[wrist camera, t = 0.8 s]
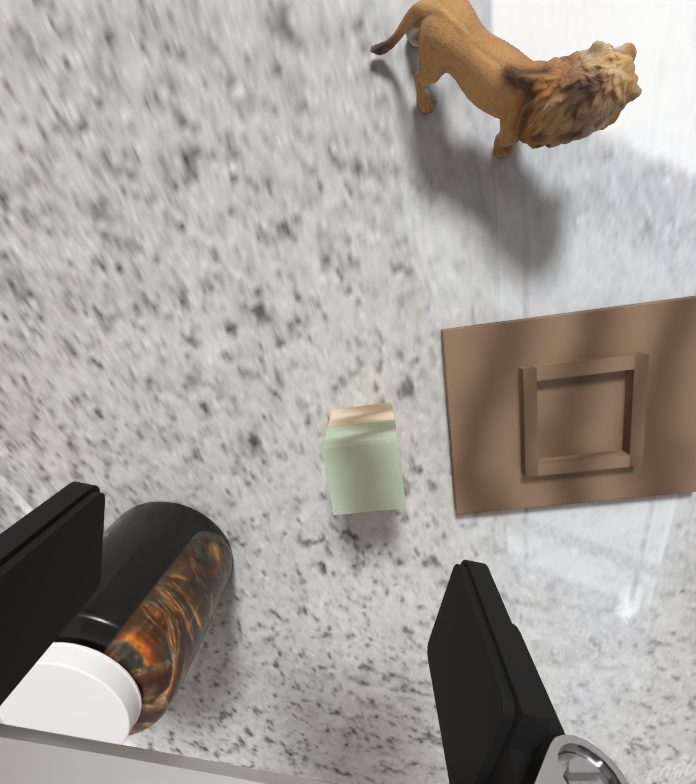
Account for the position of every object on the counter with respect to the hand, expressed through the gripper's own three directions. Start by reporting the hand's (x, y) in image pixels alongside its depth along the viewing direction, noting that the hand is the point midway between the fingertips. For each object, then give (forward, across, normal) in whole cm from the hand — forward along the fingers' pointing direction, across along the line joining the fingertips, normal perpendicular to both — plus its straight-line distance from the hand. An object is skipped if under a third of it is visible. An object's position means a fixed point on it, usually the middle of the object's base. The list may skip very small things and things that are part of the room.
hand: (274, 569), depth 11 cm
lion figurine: (+24, -6, -20) cm, 32 cm away
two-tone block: (+24, -4, +5) cm, 25 cm away
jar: (+24, +12, +21) cm, 34 cm away
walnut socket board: (+24, -20, -1) cm, 31 cm away
